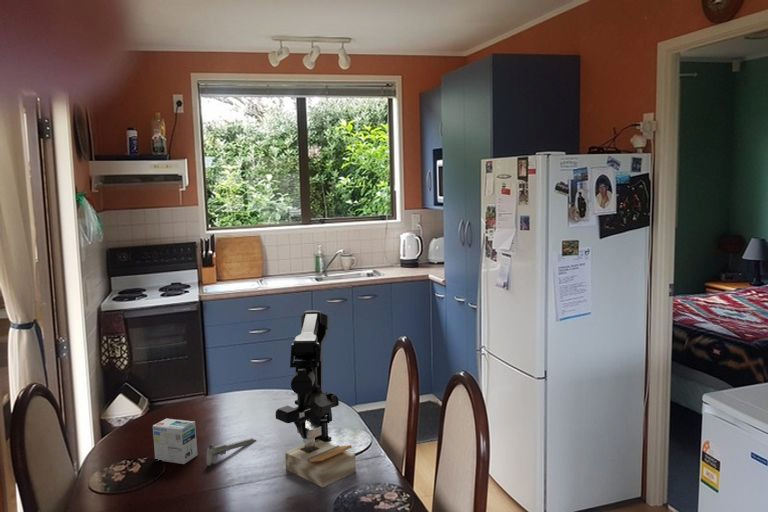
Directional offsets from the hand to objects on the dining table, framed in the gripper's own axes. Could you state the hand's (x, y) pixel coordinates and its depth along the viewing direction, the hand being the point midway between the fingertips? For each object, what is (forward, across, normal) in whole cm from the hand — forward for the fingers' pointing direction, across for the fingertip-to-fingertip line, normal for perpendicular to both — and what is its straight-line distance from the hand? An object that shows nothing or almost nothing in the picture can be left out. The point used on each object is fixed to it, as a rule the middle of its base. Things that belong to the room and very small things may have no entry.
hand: (309, 436), depth 178 cm
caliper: (+9, -10, +25) cm, 28 cm away
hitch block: (+9, 0, -5) cm, 10 cm away
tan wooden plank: (+3, 0, -9) cm, 9 cm away
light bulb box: (+9, -23, +34) cm, 42 cm away
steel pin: (+4, 0, 0) cm, 4 cm away
